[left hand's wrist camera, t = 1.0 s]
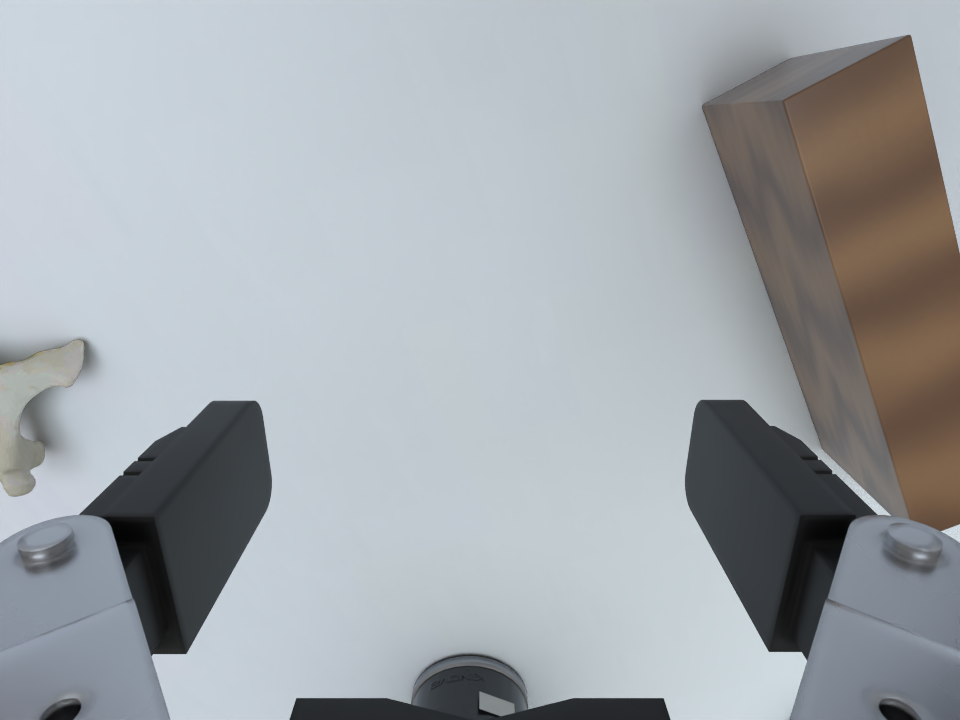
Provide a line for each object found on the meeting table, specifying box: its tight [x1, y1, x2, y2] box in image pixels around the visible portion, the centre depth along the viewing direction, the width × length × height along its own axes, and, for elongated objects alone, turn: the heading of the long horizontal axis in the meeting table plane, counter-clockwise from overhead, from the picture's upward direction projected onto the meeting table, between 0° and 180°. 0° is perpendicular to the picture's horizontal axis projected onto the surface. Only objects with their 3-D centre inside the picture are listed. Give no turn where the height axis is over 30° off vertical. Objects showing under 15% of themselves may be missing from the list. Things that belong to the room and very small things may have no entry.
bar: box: [702, 35, 960, 531], centre depth 32 cm, size 24×5×9 cm, turn 28°
